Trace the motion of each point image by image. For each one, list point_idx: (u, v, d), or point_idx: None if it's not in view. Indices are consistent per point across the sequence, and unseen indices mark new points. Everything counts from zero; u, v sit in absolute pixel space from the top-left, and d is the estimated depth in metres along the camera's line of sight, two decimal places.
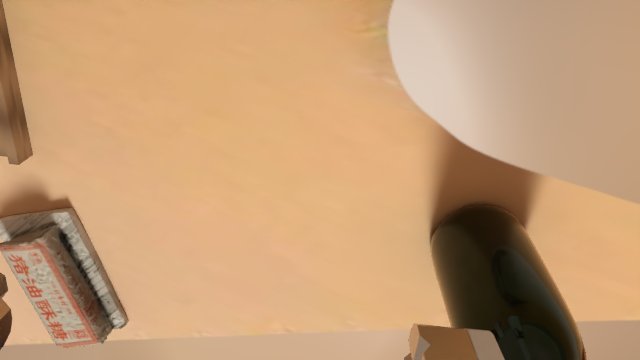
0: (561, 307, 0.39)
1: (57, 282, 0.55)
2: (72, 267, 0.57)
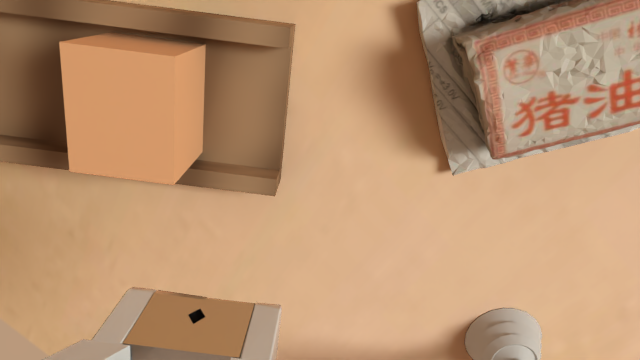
0: None
1: (604, 21, 0.21)
2: None
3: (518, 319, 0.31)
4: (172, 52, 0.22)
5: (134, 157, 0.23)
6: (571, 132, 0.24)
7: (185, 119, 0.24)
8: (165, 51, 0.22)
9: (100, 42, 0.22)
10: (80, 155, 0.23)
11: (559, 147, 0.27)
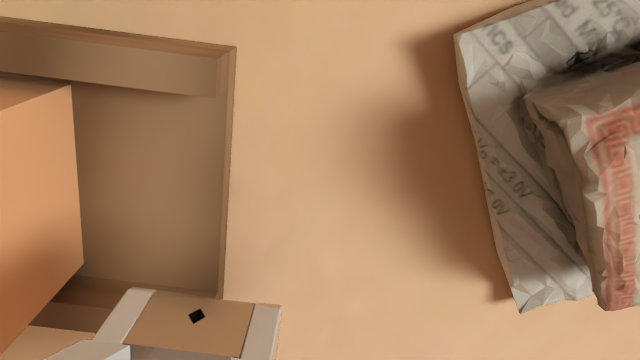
0: None
1: None
2: None
3: None
4: None
5: None
6: None
7: (13, 238, 0.12)
8: None
9: None
10: None
11: None
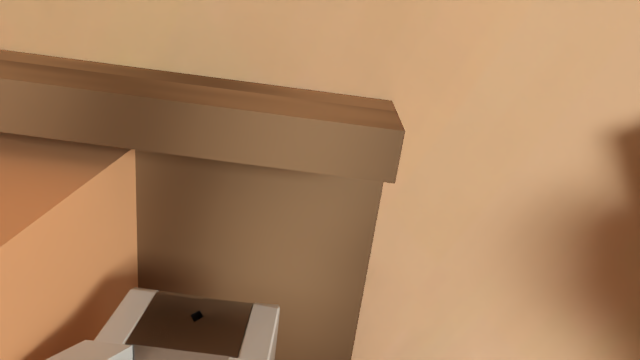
0: None
1: None
2: None
3: None
4: None
5: None
6: None
7: None
8: None
9: None
10: None
11: None
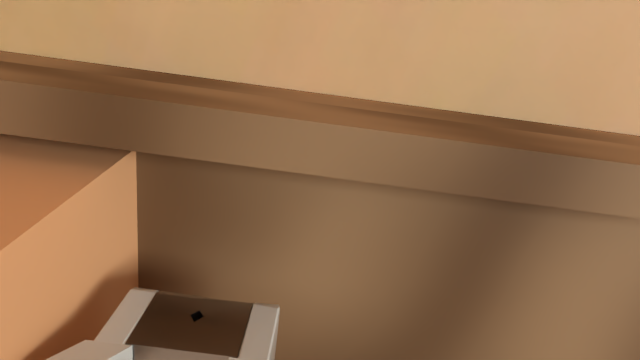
0: None
1: None
2: None
3: None
4: None
5: None
6: None
7: None
8: None
9: None
10: None
11: None
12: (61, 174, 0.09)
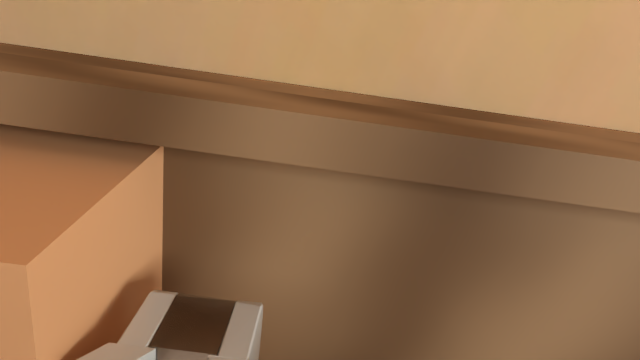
0: None
1: None
2: None
3: None
4: (38, 223, 0.07)
5: None
6: None
7: None
8: (16, 219, 0.07)
9: None
10: None
11: None
12: (96, 169, 0.09)
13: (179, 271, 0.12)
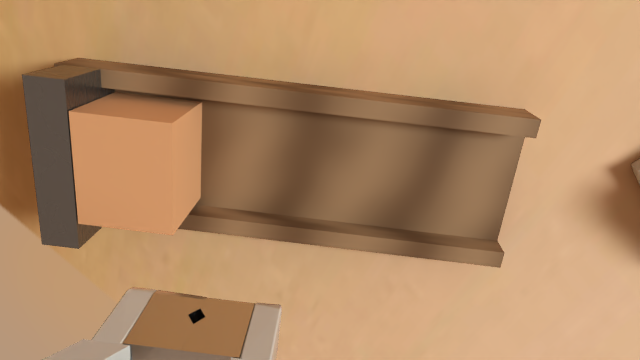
0: None
1: None
2: None
3: None
4: (170, 117, 0.24)
5: (137, 211, 0.25)
6: None
7: (183, 174, 0.26)
8: (164, 116, 0.24)
9: (105, 108, 0.24)
10: (87, 209, 0.25)
11: None
12: (181, 107, 0.26)
13: (207, 155, 0.29)
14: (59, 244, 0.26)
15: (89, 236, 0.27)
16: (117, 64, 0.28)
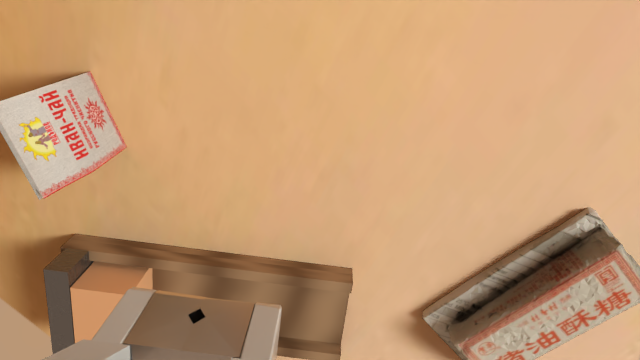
0: None
1: (517, 320, 0.41)
2: (499, 301, 0.43)
3: None
4: (129, 287, 0.41)
5: None
6: None
7: None
8: (126, 287, 0.41)
9: (91, 281, 0.41)
10: (81, 338, 0.42)
11: None
12: (137, 273, 0.43)
13: None
14: None
15: None
16: (99, 240, 0.44)
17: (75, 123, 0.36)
